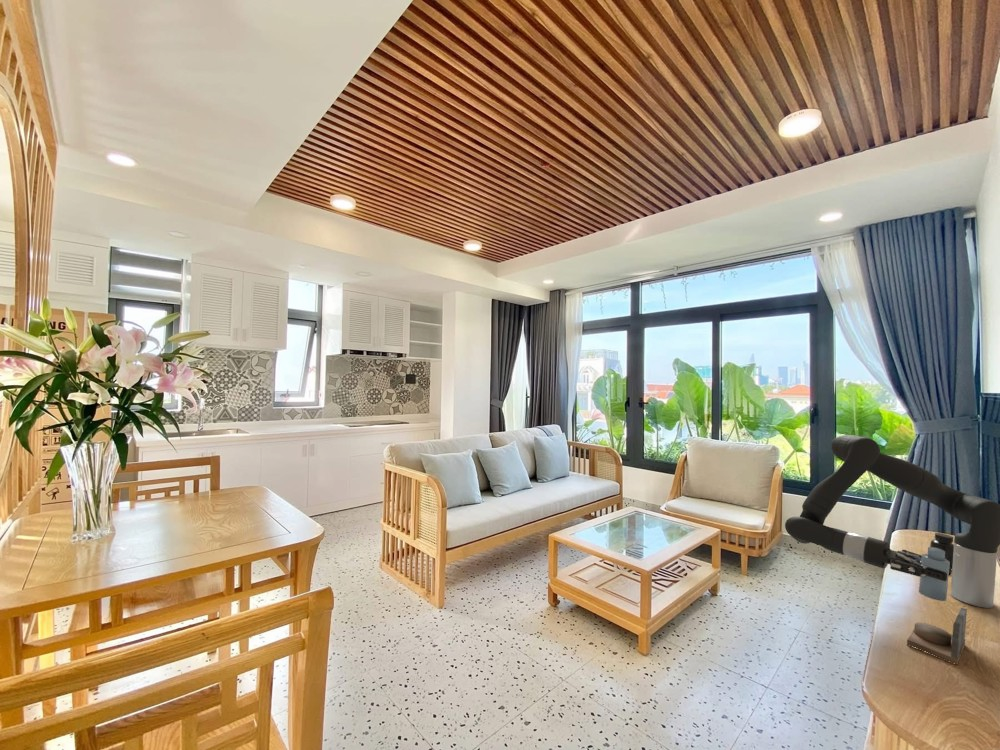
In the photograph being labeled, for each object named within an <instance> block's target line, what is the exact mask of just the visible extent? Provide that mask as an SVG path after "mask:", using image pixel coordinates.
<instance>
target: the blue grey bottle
mask: <svg viewBox="0 0 1000 750" xmlns="http://www.w3.org/2000/svg"><path fill="white" fill-rule="evenodd" d="M921 555H922V560H921V561H920V562H921V564H922V565H925V566H926V567H930V568H934V569H937V570H940V571H944V572H946V573H947V574H948V575H947V580H946V581H942V580H939V579H936V578H933V577H929V576H922V575H921V577H919V583H918V585H919V586H918V593H919V594H920V595H922V596H923V597H927V598H929V599H932V600H935V601H939V602H945V601H947V597H948V586H949V576H950V575H949V566H950V561H948V560H946V559H945V551H944V550H941V549H938V548H934V547H930V546H928V547H927V553H922V554H921Z"/></svg>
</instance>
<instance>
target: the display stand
mask: <svg viewBox="0 0 1000 750" xmlns="http://www.w3.org/2000/svg"><path fill="white" fill-rule="evenodd" d="M967 612H968V611H967V608H964V607H960V608H959V612H958V614H957V616H956V618H955V620H954V622H953V625H952V626H953V627H952V633H949V632H948V631H946V630H945V629H943V628H940V627H938V626H936V625H933V624H929V623H925V622H919V621H917V622H916V623H914V628H913V629H912V631H911V633H910V635H909V636H908V638H907V641H906V646H908V645H910V646H913V647H916V648H918V649H921V650H923V651H926V652H928V653H930V654H933V655H935V656H937V657H940V658H942V659H945V660H947V661H950V662H952V663H955V664H957V665H958V664H959V662H958V661H960V659H961V656H962V654H963V650H964V648H965V647H966V646H965V645H966V627H967V626H966V625H967ZM910 646H909V647H910ZM913 647H912V648H913ZM918 649H917V650H918ZM923 651H922V652H923ZM928 653H927V654H928ZM961 653H962V654H961ZM930 654H929V655H930ZM935 656H934V657H935ZM937 657H936V658H937ZM940 658H939V659H940ZM959 658H960V659H959ZM942 659H941V660H942ZM945 660H944V661H945ZM947 661H946V662H947ZM950 662H949V663H950ZM952 663H951V664H952ZM955 664H954V665H955Z"/></svg>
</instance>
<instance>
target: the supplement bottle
mask: <svg viewBox="0 0 1000 750" xmlns="http://www.w3.org/2000/svg"><path fill="white" fill-rule="evenodd" d="M929 547H934V548H938V549H941V550H944V551H945V559H946V560H948V561H950V566H949V567H951V569H952V566H953V553H954V537H953V536H952V535H950V534H946V533H942V532H936V533H934V539H931V540H930V543H929Z"/></svg>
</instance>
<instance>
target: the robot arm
mask: <svg viewBox="0 0 1000 750" xmlns="http://www.w3.org/2000/svg"><path fill="white" fill-rule="evenodd" d="M831 450H832V453H833V454H834V456H835V457H836V458H837V459H839V460H840V461H842V462H843V463H842V464H841V465H840V467H839V468H838V469H837V470H836V471H834V473H832V474H830V475H829V476H828V477H826V478H825V479H823V480H822V481H820V482H819V483H817V484H816V485H815V486H814V487H813V489H812V490H811V491H810V493H809V494H808V495H807V497H806V498H805V500H804V501H803V503H802V506H801V507H802V511H801V513H800V515H799V516H791V517H789V518H788V519H786V521H785V523H784V528H785V531H786V532H787V534H789V536H790V537H792V539H794V541H795V540H796V542H798V543H800V544H805V545H806V544H814V545H818V546H819V547H822V548H824V549H826V550H827V551H830V552H833V553H836V554H839V555H842V556H846V557H848V558H850V559H852V560H855V561H859V562H861V563H865V564H868V565H870V566H874V567H878V568H881V569H886V568H887V566H888V565H890V570H893V571H898V572H901V573H904V574H908V575H911V576H915V577H919V578H920V577H921V575H922V576H929V577H933V578H936V579H939V580H942V581H946V580H947V575H948V574H947V573H946V572H944V571H940V570H937V569H934V568H930V567H926V566H925V565H922V564H921V560H922V554H918V553H915V552H913V551H909V550H906V549H901V550H893V549H891V546H890V543H889V542H887V541H885V540H883V539H882V540H881V539H877V538H874V537H870V536H867V535H864V534H860V533H854V532H849V531H847V530H844V529H843V530H842V529H840V528H839V529H838V528H834V527H831V526H827V525H825V520H826V518H827V517H828V515H830V513H831V512H832V510H833V509H834V507H836V505H837V503H838V502H839V500H841V498H842V497H843V495H844V494H845V493H846V492H847V491H848V490H849V489H850V488H851V487H852V486H853V485H854V484H855V483H856V482H857V481H858V480H859V479H860V478H861V477H862V476H863V475H864V474H865V473H866V472H869V473H871V474H873V475H874V476H876V477H878V479H880V480H882V481H884V482H886V483H888V484H890V485H891V486H893V487H895V488H897V489H899V490H901V491H903V492H904V493H907V494H909V495H911V496H913V497H915V498H918V499H920V500H923V501H925V502H928V503H930V504H932V505H934V506H936V507H937V508H939V509H941V510H942V511H944V512H945V513H947V514H948V515H950V516H951V517H953V518H955V519H957V520H958V521H960V522H963V523H965V524H969V525H970V528H969V531H968V532H967V533H966V532H958V533H955V534H954V537H953V544H954V553H953V566H952V570H951V567H949V576H951V582H950V595H951V597H952V598H953V599H956V600H958V601H961V602H964V603H966V604H968V605H972V606H975V607H980V608H983V609H985V608H987V609H992V608H993V607H994V598H995V590H996V589H995V588H996V574H997V573H996V572H997V559H998V558H997V557H998V548H999V547H1000V504H999V503H998V502H997V501H993V500H990V499H987V498H983V497H979V496H976V495H975V494H970V493H966V492H963V491H959V490H957V489H955V488H952V487H950V486H948V485H946V484H945V483H943V482H942V480H941V479H940V478H939V477H938V476H937V475H936V474H934V473H932V472H931V471H929V470H927V469H925V468H923V467H921V466H919V465H918V464H915V463H913V462H910V461H907V460H904V459H903V458H902V459H901V458H899V457H895V456H893V455H889V454H886V453H883V452H881V449H880V445H879V444H878V443H877V441H876V440H874V439H872V438H869V437H866V436H860V435H854V434H853V435H852V434H842V435H839V436H837V437H835V438H833V440H832V442H831Z"/></svg>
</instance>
